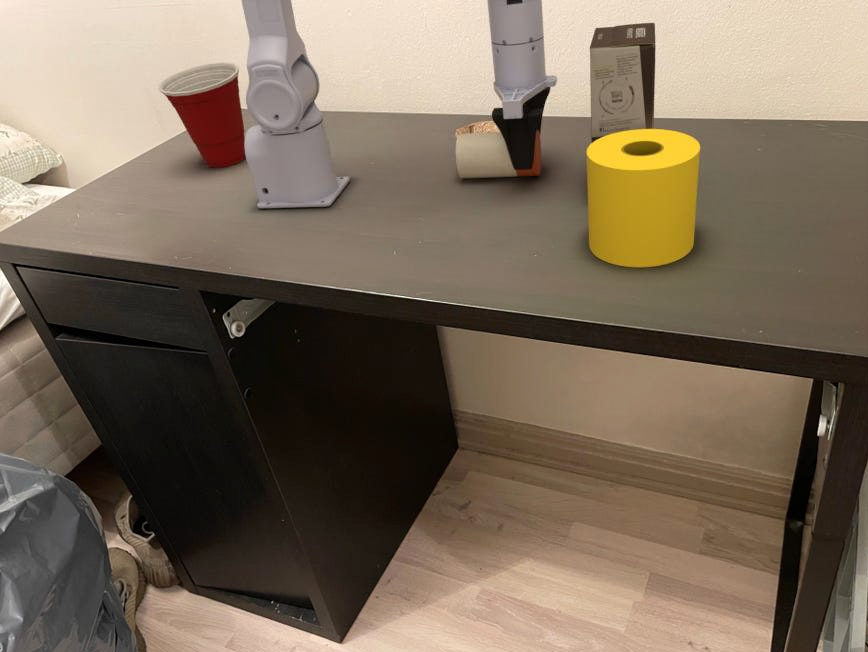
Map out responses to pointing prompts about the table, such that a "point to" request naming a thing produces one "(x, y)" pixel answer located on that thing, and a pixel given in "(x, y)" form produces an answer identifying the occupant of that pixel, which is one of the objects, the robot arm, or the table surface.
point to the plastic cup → (210, 110)
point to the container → (490, 156)
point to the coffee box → (622, 79)
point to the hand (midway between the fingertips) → (526, 159)
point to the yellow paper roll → (642, 196)
